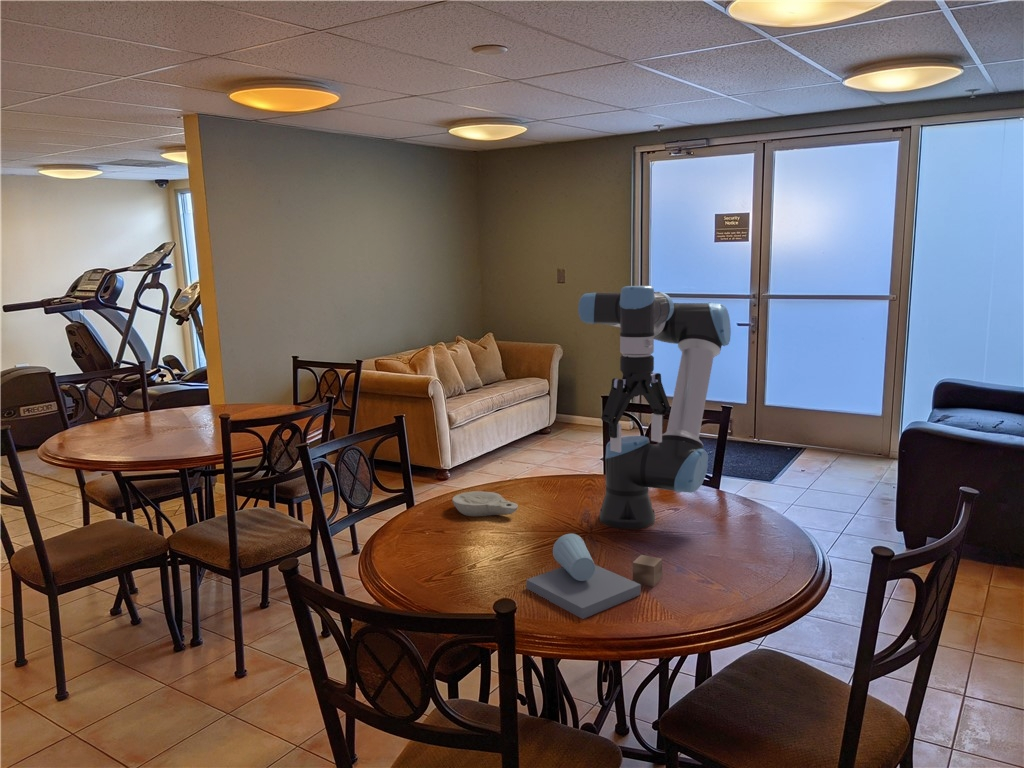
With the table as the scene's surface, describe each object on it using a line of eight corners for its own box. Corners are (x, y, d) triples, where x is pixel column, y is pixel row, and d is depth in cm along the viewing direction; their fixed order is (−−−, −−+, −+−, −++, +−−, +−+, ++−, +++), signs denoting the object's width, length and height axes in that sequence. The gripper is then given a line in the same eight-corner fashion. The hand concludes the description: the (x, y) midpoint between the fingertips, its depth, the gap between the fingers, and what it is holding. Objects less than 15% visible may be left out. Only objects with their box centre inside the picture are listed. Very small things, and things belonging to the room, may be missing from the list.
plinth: (526, 590, 162) (526, 579, 162) (583, 569, 172) (583, 559, 172) (582, 620, 148) (582, 608, 148) (640, 595, 158) (640, 584, 158)
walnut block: (632, 583, 165) (632, 562, 164) (641, 575, 169) (641, 554, 168) (653, 588, 162) (654, 566, 161) (662, 579, 166) (662, 558, 165)
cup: (561, 583, 158) (548, 562, 168) (594, 588, 160) (579, 566, 170) (571, 551, 156) (557, 531, 166) (604, 556, 158) (588, 536, 168)
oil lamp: (531, 514, 212) (531, 497, 211) (503, 529, 200) (503, 511, 199) (472, 502, 223) (472, 486, 222) (442, 516, 211) (442, 499, 211)
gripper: (609, 361, 156) (609, 458, 160) (686, 351, 171) (684, 440, 175) (585, 358, 162) (585, 452, 165) (661, 348, 177) (660, 434, 180)
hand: (636, 446), depth 170 cm, fingers open, 13 cm apart
